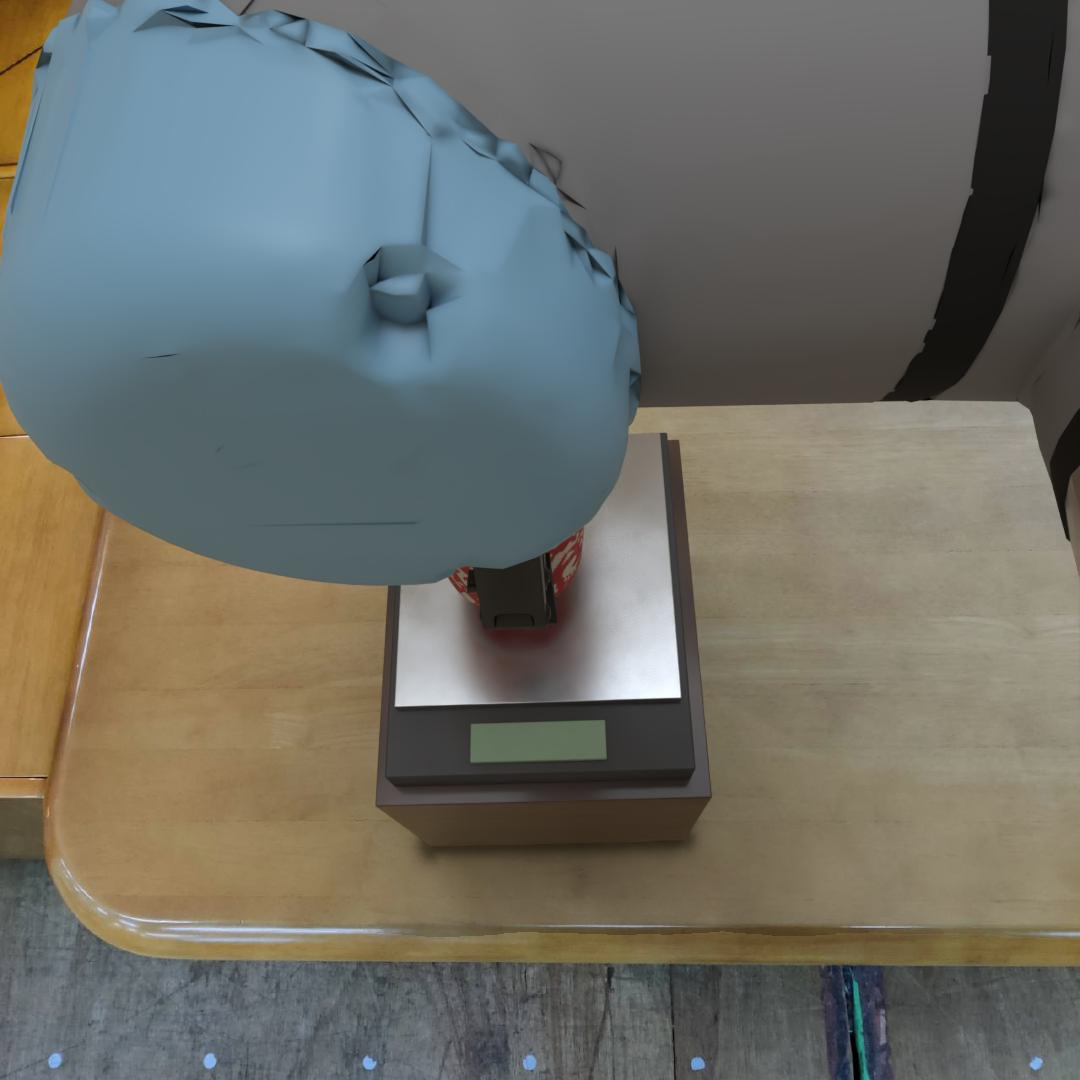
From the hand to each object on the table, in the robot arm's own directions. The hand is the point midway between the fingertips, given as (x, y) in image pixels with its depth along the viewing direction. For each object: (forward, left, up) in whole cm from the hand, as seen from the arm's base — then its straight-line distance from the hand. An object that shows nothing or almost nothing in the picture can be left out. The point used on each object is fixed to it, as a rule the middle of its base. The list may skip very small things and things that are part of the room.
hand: (527, 513), depth 46 cm
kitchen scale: (-2, 0, -9) cm, 9 cm away
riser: (-2, 0, -27) cm, 27 cm away
